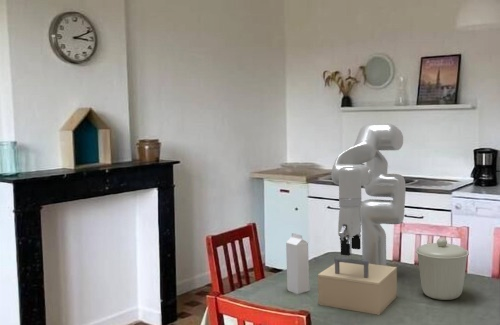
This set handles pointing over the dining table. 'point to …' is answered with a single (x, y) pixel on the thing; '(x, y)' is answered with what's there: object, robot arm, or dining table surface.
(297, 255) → the milk
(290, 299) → the dining table surface
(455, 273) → the canister
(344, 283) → the carton
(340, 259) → the carton lid
